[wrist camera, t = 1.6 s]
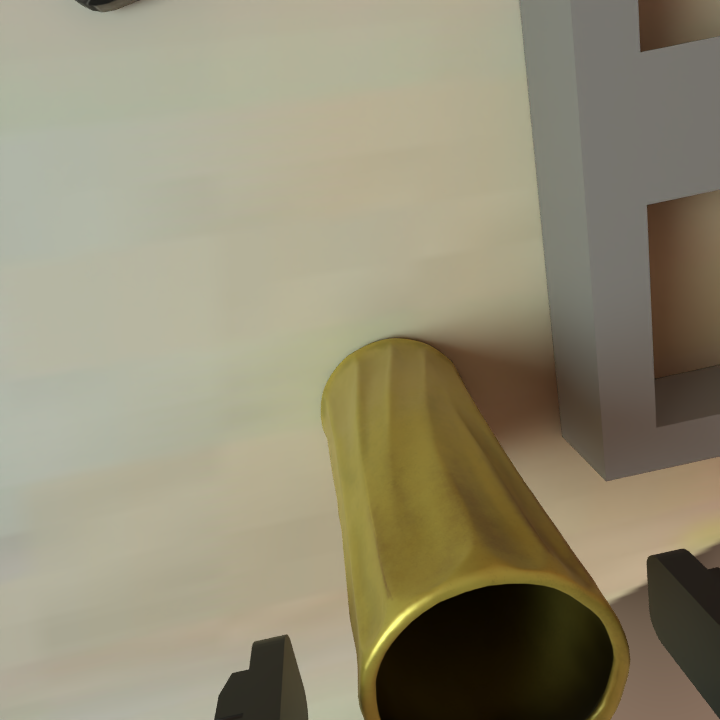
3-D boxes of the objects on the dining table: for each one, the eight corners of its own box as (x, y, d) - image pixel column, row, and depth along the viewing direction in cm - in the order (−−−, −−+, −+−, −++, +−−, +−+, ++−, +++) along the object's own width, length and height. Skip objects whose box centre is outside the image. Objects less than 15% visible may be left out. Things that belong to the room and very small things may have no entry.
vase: (494, 394, 25) (717, 655, 11) (401, 497, 26) (502, 849, 12) (384, 306, 23) (489, 485, 10) (290, 420, 24) (267, 723, 11)
